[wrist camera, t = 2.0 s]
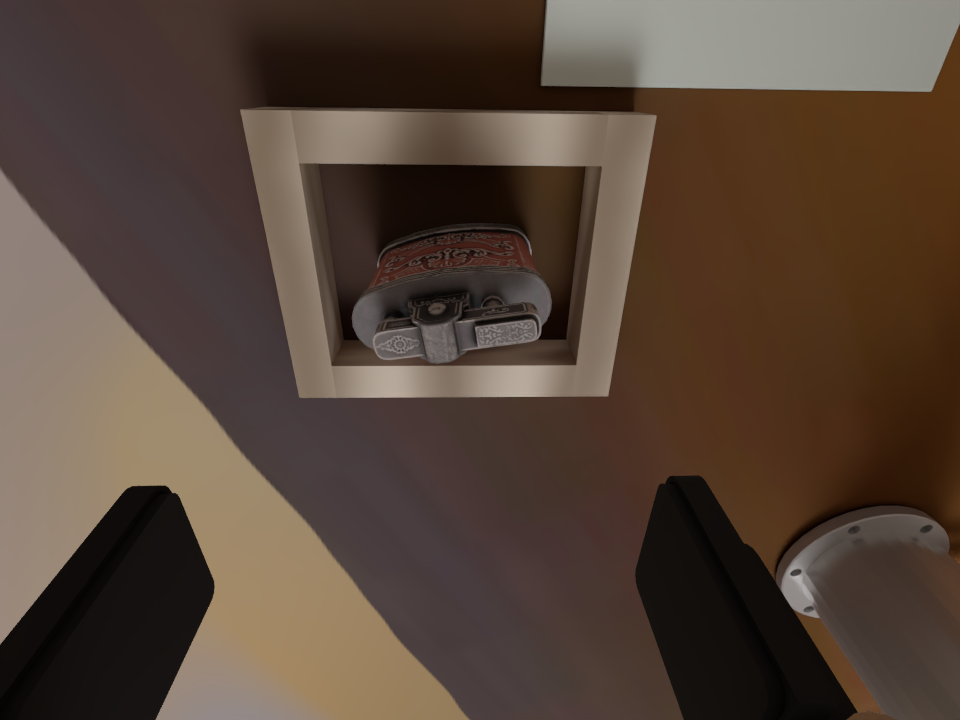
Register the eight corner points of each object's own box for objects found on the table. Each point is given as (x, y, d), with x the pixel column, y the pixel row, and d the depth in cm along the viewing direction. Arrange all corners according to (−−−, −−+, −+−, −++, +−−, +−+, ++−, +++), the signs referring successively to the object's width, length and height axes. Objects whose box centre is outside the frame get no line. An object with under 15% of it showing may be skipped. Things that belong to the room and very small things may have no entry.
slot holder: (634, 111, 23) (656, 115, 20) (595, 368, 30) (607, 396, 27) (266, 106, 22) (240, 109, 20) (314, 369, 29) (299, 397, 26)
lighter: (387, 295, 27) (351, 396, 18) (373, 235, 25) (325, 315, 17) (531, 276, 27) (565, 369, 18) (527, 214, 25) (560, 283, 16)
